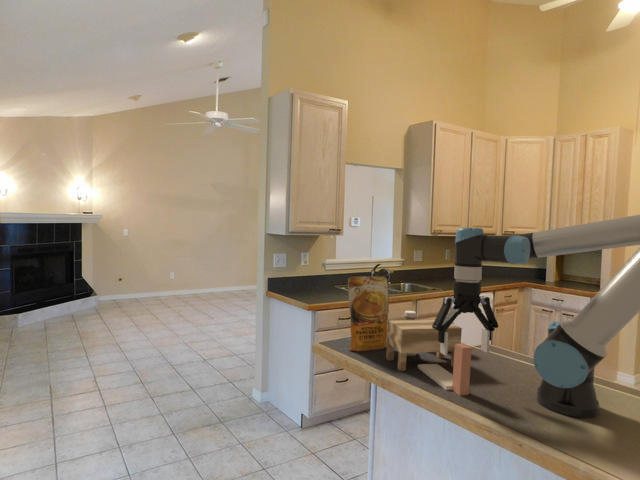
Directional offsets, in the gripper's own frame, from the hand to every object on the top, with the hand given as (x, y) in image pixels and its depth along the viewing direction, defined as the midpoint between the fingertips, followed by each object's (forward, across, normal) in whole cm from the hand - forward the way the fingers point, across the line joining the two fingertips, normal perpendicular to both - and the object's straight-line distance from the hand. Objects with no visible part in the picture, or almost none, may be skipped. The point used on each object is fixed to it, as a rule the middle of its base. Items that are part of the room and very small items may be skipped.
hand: (464, 352), depth 120 cm
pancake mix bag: (+11, +14, -43) cm, 46 cm away
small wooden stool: (+12, 0, -25) cm, 27 cm away
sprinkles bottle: (+11, -4, -46) cm, 47 cm away
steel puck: (+12, +1, -35) cm, 37 cm away
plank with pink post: (+12, +1, -10) cm, 15 cm away
